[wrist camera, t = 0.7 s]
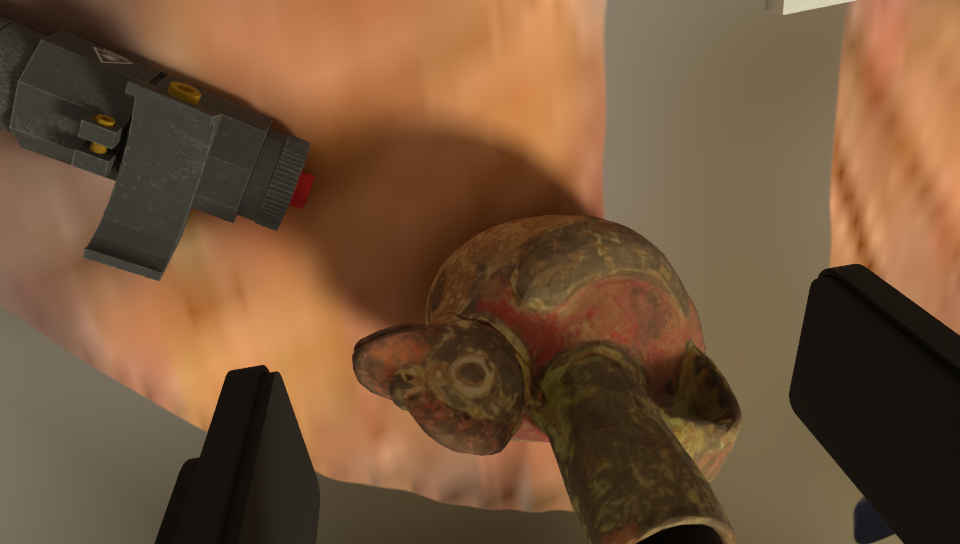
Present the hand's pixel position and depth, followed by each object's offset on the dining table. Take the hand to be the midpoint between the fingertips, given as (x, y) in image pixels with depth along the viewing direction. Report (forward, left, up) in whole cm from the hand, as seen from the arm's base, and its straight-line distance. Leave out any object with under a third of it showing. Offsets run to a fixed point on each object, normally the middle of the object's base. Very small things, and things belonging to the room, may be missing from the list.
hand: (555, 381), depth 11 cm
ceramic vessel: (+18, +4, -32) cm, 37 cm away
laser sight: (0, -18, -32) cm, 37 cm away
